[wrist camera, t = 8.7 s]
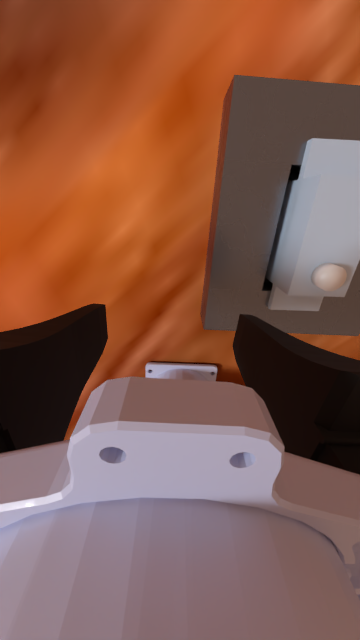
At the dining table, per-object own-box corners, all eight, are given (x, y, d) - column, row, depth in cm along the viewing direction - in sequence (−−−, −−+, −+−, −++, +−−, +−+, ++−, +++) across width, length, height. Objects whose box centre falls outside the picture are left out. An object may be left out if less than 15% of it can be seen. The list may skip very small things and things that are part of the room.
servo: (289, 149, 15) (348, 119, 10) (344, 152, 16) (432, 124, 10) (258, 296, 20) (286, 327, 15) (300, 297, 21) (343, 329, 15)
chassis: (336, 320, 22) (358, 335, 20) (200, 314, 22) (203, 329, 19) (424, 115, 15) (477, 95, 12) (224, 99, 15) (234, 74, 12)
